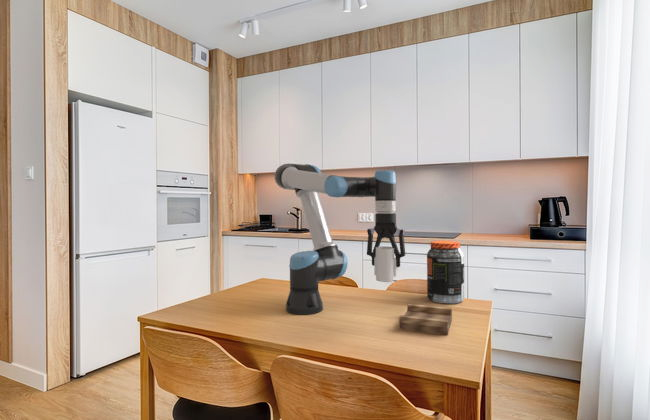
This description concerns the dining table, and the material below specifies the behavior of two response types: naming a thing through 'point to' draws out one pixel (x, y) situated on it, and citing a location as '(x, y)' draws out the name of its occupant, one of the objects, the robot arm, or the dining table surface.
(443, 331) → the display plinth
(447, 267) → the supplement tub
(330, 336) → the dining table surface
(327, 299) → the dining table surface
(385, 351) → the dining table surface
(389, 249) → the mug
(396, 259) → the robot arm
